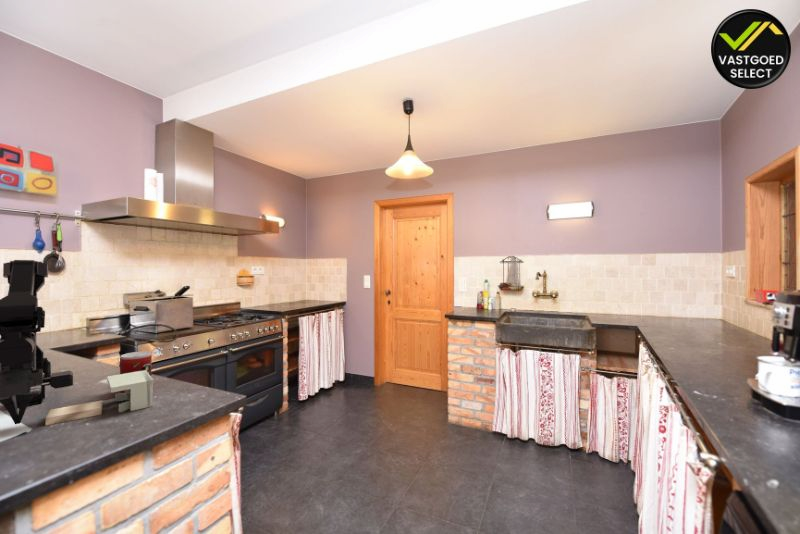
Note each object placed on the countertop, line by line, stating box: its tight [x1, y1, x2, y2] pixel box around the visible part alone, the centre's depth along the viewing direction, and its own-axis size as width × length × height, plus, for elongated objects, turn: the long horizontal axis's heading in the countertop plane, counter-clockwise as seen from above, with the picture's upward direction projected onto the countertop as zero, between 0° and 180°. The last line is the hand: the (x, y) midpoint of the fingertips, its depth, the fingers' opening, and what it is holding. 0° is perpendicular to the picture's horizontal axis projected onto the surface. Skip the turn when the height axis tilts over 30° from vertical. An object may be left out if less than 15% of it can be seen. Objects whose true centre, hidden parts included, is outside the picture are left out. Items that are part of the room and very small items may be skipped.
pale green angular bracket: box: [106, 370, 154, 413], centre depth 95 cm, size 9×13×7 cm
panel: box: [45, 400, 104, 426], centre depth 87 cm, size 10×6×2 cm, turn 128°
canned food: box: [119, 350, 153, 393], centre depth 106 cm, size 8×8×11 cm
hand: (17, 423), depth 81 cm, fingers closed
